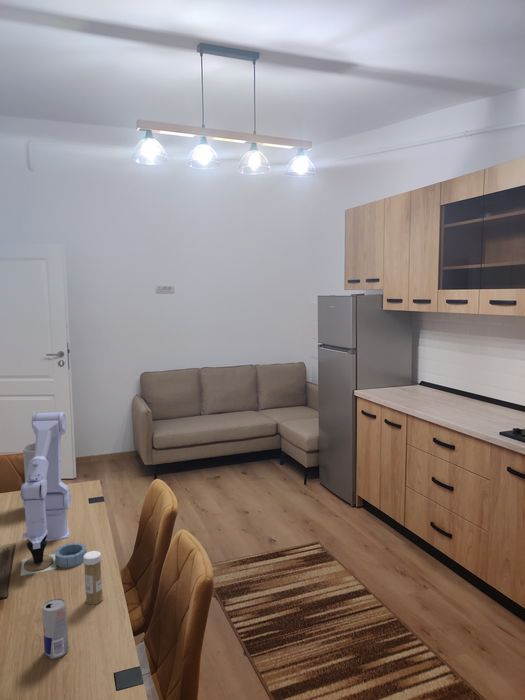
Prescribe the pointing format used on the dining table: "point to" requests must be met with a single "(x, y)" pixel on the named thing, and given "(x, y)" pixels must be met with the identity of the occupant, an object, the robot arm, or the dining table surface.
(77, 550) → the bowl
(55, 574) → the dining table surface
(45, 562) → the lid
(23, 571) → the mat
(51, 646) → the energy drink
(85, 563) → the sprinkles bottle
